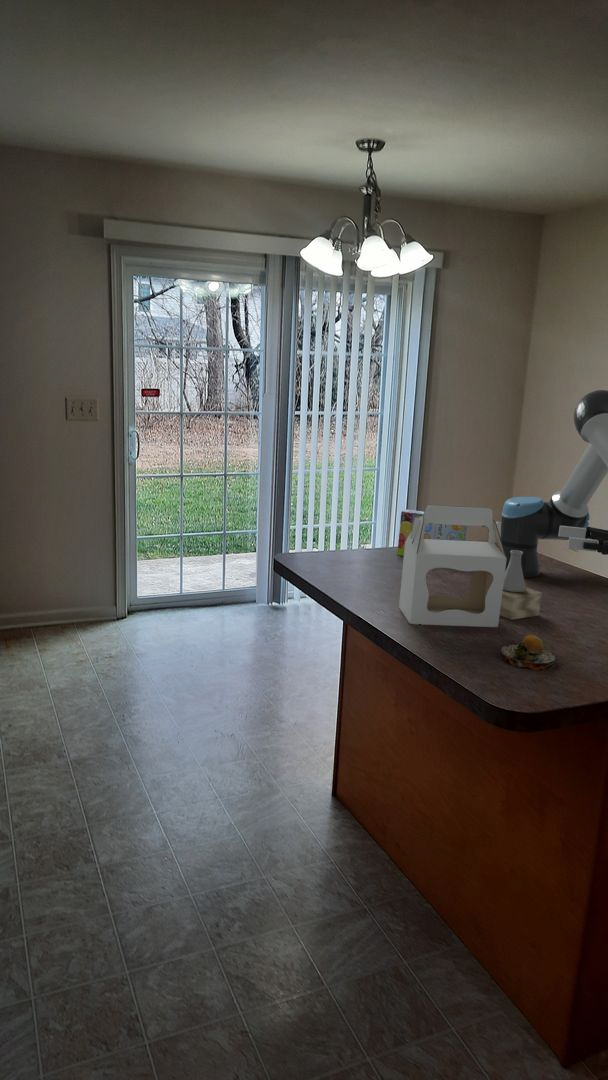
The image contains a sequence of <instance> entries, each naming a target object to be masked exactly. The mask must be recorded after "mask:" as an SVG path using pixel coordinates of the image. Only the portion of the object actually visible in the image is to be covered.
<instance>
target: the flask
mask: <svg viewBox="0 0 608 1080" xmlns="http://www.w3.org/2000/svg"><path fill="white" fill-rule="evenodd" d="M510 553H511V558H510V562H509V565H508V567H507V569H506V571H505V575H504V583H503V590H506V591H511V592H524V591H526V581H525V577H523V572H522V567H521V556H522V554H523V552H522V551H518V550H511V551H510Z"/></svg>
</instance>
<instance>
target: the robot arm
mask: <svg viewBox="0 0 608 1080" xmlns="http://www.w3.org/2000/svg"><path fill="white" fill-rule="evenodd" d="M573 422H574V426H575V429H576V431H577V433H578V435H579V436H580V438H581V439H582V440H583V441H584V442H586V443H589V444H588V446H587V447H586V449H585V450H584V452H583V454H582V456H581V457H580V459H579V461H578V463H577V464H576V465H575V468H574V469H573V471H572V472H571V474H570V476H569V477H568V480H567V481H566V483H565V484H564V485H563V488H562V489H561V490H558V491H555V492H554V493H553V494H552V497H550V499H549V501H547V502H546V501H545V502H544V500H543V499H542V498H541V497H537V496H516V497H511V498H508V499H507V500H505V502H504V504H503V508H502V511H501V537H500V538H501V541H502V544H503V547H504V551H505V554H506V557H507V559H506V567H505V571H506V569H507V567H508V565H509V562H510V558H511V553H510V551H511V550H518V551H522V552H523V554H522V556H521V567H522V572H523V577H524V578H535V576H536V577H539V576H540V575H541V574H540V573H541V566H540V563H539V556H538V546H539V545H538V543H539V540H559V541H561V540H562V541H568V543H567V549H568V550H578V551H586V552H597V553H601V554H600V555H604V556H605V555H606V556H607V555H608V529H604V528H597V527H591V526H589V524H590V523H589V521H590V517H591V515H590V512H589V506H588V504H589V502H590V500H591V499H592V497H593V496H594V494H595V493H596V491H597V489H598V488H599V487H600V485H601V483H602V482H603V481H604V479H605V477H606V476H607V474H608V390H607V389H598V390H593V391H591V392H589V393H587V394H586V395H584V396H583V397H582V398H581V399H580V400H579V401H578V403H577V404H576V406H575V409H574V412H573ZM538 575H539V576H538Z"/></svg>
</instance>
